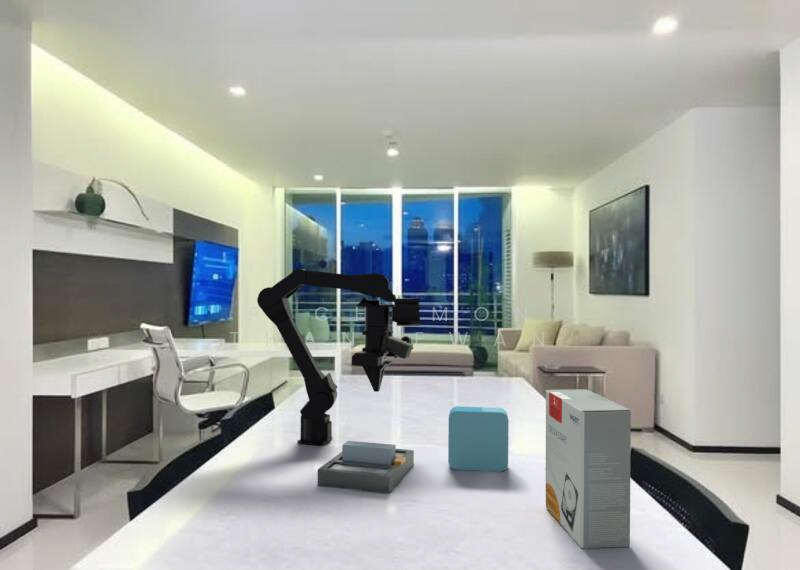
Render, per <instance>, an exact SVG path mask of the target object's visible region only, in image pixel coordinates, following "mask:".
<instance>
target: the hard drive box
mask: <svg viewBox="0 0 800 570" xmlns="http://www.w3.org/2000/svg"><path fill="white" fill-rule="evenodd" d="M631 413H632V410H631V409H630V408H626V407H625V406H624V405H621V404H619V403H617V402H614V401H612V400H611V399H608V398H606V397H603V396H601V395H600V394H597V393H595V392H593V391H591V390H589V389H585V388H584V389H580V388H579V389H577V388H576V389H573V388H572V389H545V507H546V508H547V509H548V511H549V512H550V514H551V515H552V517H553V518H554V519H556V520H557V521H558V523H559V524H561V527H563V528H564V530H565V531H566V532H567V533H568V535H569V537H570V538H571V539H573V541H575V543H576V544H577V545H578V546H579V547H580V548H581V549H596V548H598V549H599V548H602V549H603V548H625V547H626V548H627V547H628V548H629V547H630V545H631V543H630V542H631V445H632V444H631V442H632V441H631V440H632V439H631V433H632V432H631V428H632V427H631V424H632V423H631V421H632V420H631V417H632V416H631V415H632V414H631Z"/></svg>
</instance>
